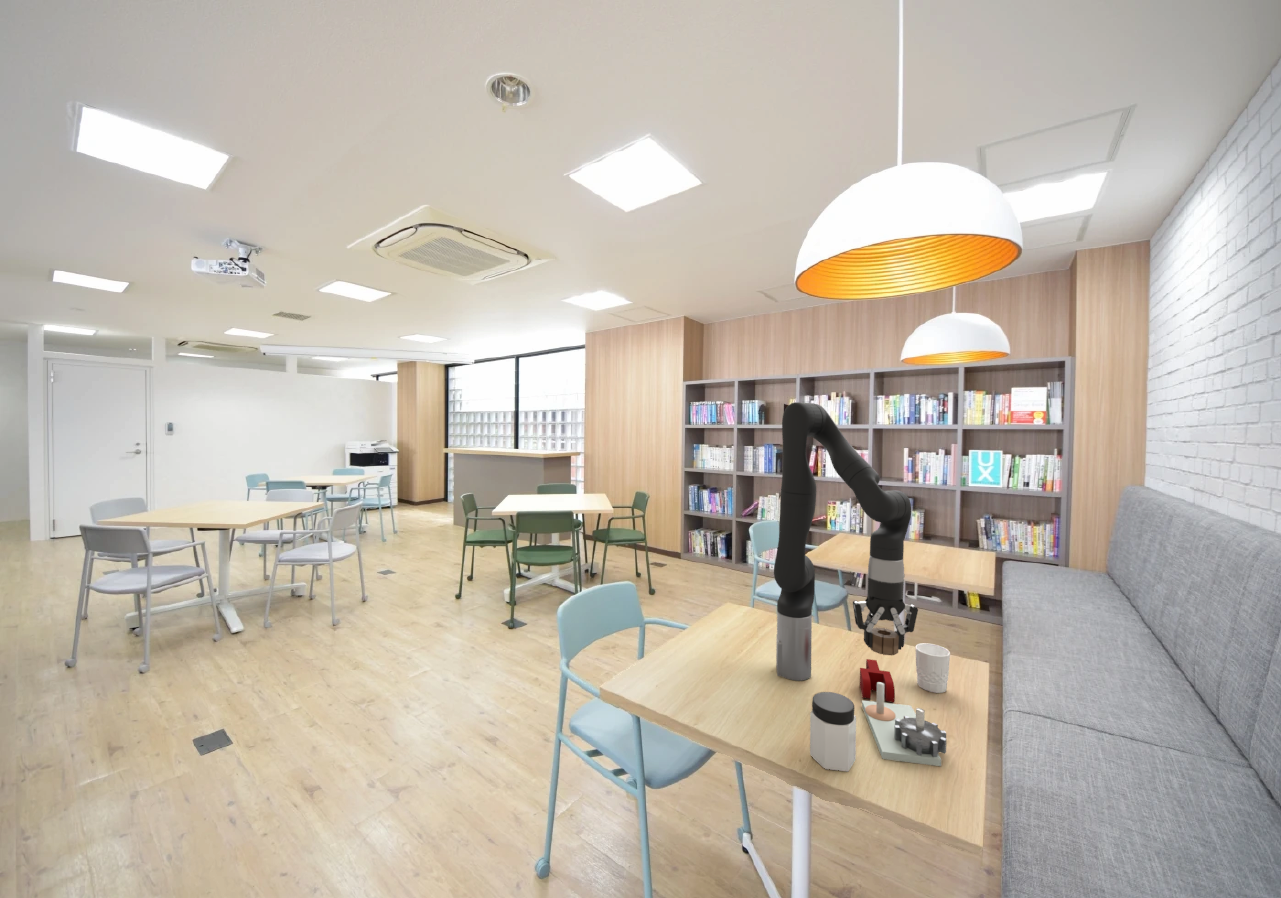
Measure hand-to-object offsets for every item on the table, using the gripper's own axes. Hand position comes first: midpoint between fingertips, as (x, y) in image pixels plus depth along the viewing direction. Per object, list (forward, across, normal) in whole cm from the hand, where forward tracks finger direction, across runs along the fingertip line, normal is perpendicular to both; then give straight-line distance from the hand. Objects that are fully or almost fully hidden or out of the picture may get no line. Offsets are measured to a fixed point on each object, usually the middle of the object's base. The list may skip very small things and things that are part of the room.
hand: (883, 647), depth 117 cm
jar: (+17, +14, +17) cm, 28 cm away
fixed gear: (+16, -4, +11) cm, 19 cm away
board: (+17, -2, +6) cm, 18 cm away
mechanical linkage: (+18, -3, -15) cm, 23 cm away
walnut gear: (+1, 0, 0) cm, 1 cm away
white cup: (+17, -18, -17) cm, 30 cm away
